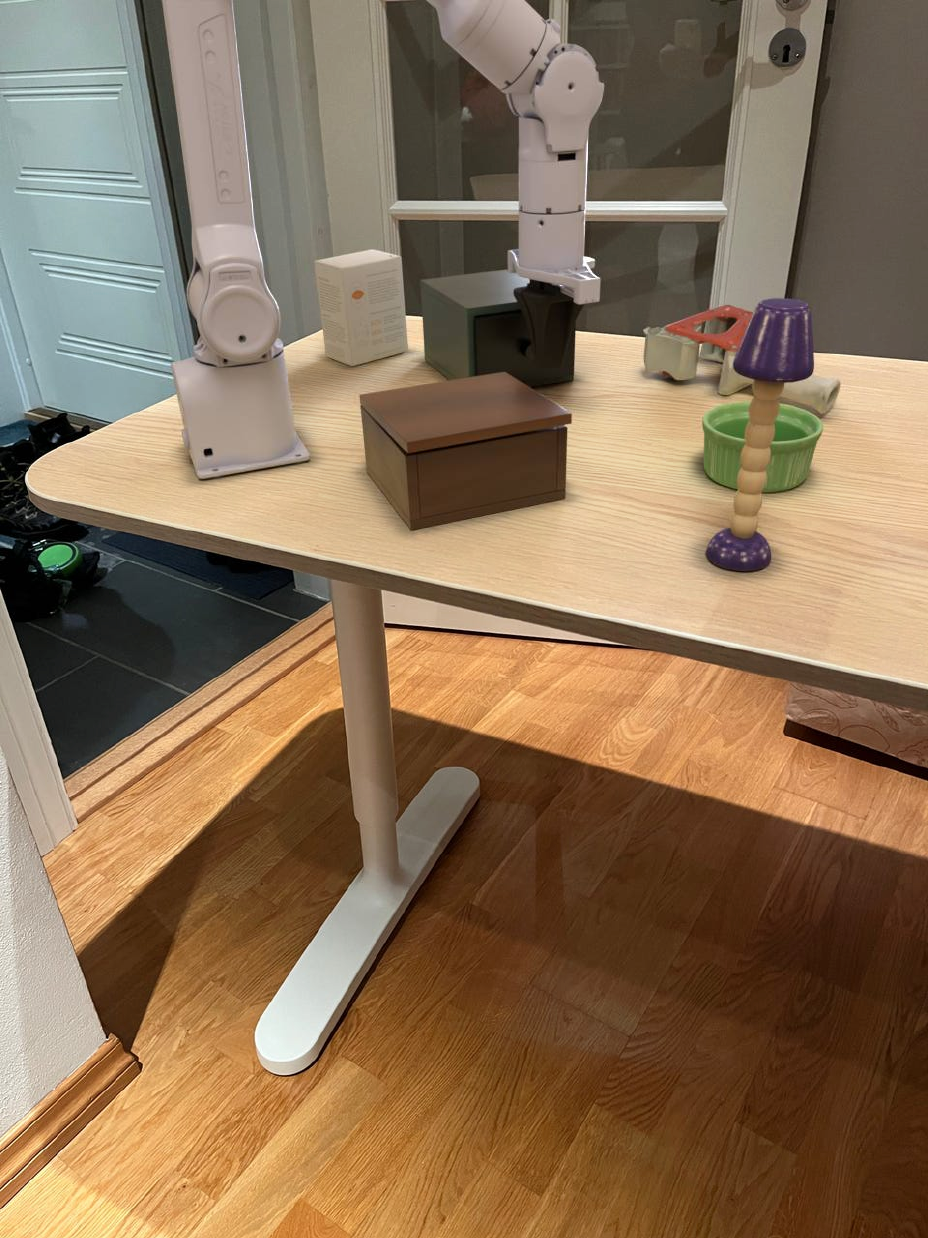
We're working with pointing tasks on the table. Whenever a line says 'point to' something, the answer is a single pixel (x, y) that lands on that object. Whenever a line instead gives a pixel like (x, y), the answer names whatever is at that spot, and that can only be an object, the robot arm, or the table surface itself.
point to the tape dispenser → (722, 355)
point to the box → (466, 474)
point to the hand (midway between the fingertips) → (549, 366)
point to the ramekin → (787, 448)
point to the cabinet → (464, 317)
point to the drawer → (513, 348)
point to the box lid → (462, 411)
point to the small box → (362, 306)
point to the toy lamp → (762, 420)
